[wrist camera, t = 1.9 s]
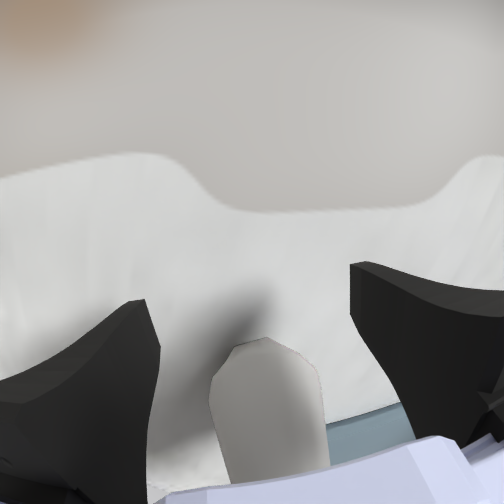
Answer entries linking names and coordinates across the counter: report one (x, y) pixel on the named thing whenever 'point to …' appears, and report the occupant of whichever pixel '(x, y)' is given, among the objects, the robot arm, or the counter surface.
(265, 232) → the counter surface
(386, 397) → the counter surface
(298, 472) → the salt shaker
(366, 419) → the tray
